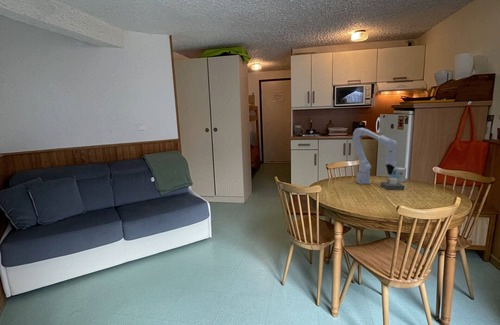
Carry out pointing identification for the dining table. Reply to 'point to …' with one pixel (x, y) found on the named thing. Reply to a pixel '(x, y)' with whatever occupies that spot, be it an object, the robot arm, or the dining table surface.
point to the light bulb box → (398, 174)
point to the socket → (392, 186)
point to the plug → (392, 181)
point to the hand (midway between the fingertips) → (389, 174)
